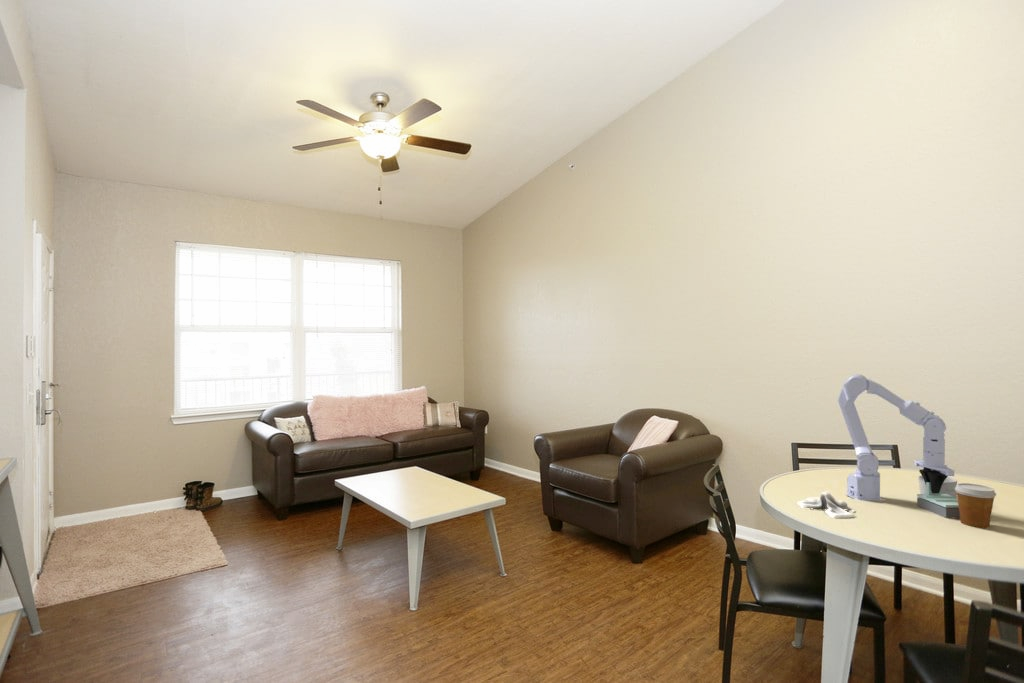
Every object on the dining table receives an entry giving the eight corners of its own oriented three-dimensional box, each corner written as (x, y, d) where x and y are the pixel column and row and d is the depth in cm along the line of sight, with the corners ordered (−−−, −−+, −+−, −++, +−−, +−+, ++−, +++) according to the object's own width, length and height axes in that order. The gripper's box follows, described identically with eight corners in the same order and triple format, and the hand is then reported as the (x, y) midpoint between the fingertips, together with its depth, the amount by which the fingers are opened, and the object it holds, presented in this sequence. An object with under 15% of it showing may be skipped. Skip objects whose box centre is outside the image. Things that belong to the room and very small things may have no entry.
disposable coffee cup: (954, 518, 167) (954, 481, 167) (994, 525, 161) (995, 486, 161) (954, 527, 160) (954, 487, 160) (997, 534, 154) (997, 493, 154)
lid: (977, 507, 167) (978, 492, 167) (945, 507, 167) (946, 492, 167) (946, 496, 179) (947, 482, 179) (917, 496, 179) (917, 482, 179)
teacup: (953, 507, 180) (953, 483, 180) (914, 499, 188) (914, 477, 188) (962, 499, 189) (962, 477, 189) (924, 492, 197) (925, 471, 197)
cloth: (850, 524, 164) (850, 504, 164) (787, 509, 177) (787, 491, 177) (871, 509, 178) (871, 491, 178) (811, 496, 192) (811, 480, 192)
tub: (977, 520, 166) (978, 509, 166) (945, 519, 167) (946, 508, 167) (946, 508, 178) (947, 497, 178) (917, 507, 179) (917, 497, 179)
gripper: (963, 456, 171) (963, 498, 171) (928, 447, 185) (928, 486, 185) (941, 456, 171) (941, 498, 171) (908, 447, 185) (908, 486, 185)
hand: (933, 492), depth 178 cm, fingers closed on lid
